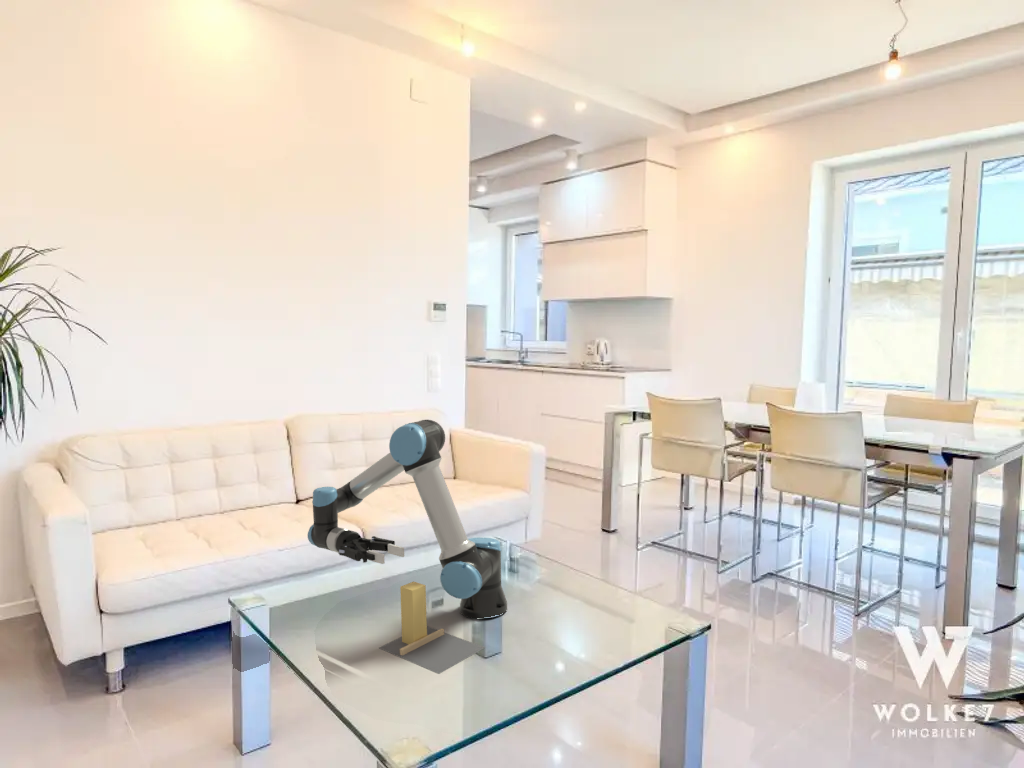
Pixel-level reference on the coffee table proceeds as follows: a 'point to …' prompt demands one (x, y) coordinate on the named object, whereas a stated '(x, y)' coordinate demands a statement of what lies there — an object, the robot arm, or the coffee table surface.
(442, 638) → the tipping mat
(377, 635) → the coffee table surface
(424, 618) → the mustard block
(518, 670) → the coffee table surface
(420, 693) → the coffee table surface
